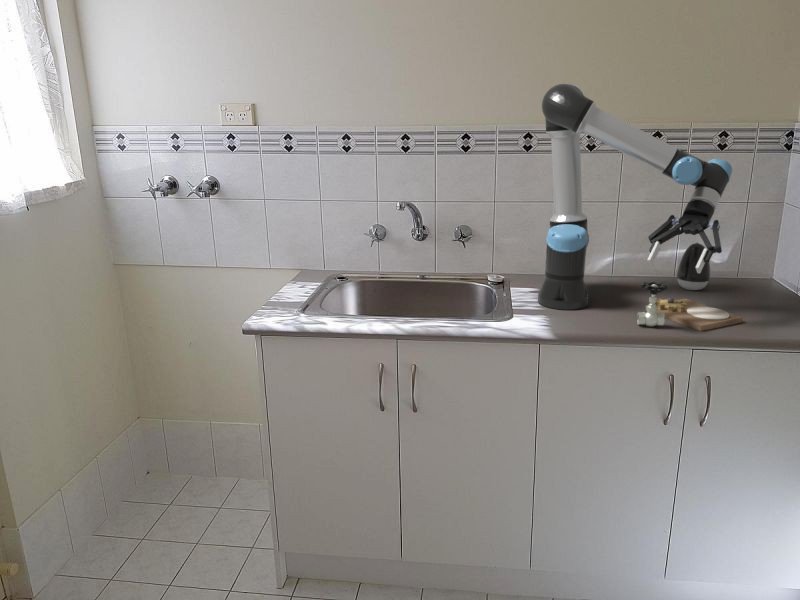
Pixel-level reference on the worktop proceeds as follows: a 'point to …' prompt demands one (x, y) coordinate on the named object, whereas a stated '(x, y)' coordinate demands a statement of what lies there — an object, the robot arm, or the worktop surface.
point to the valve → (652, 306)
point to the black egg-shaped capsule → (693, 269)
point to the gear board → (695, 314)
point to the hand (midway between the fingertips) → (673, 266)
